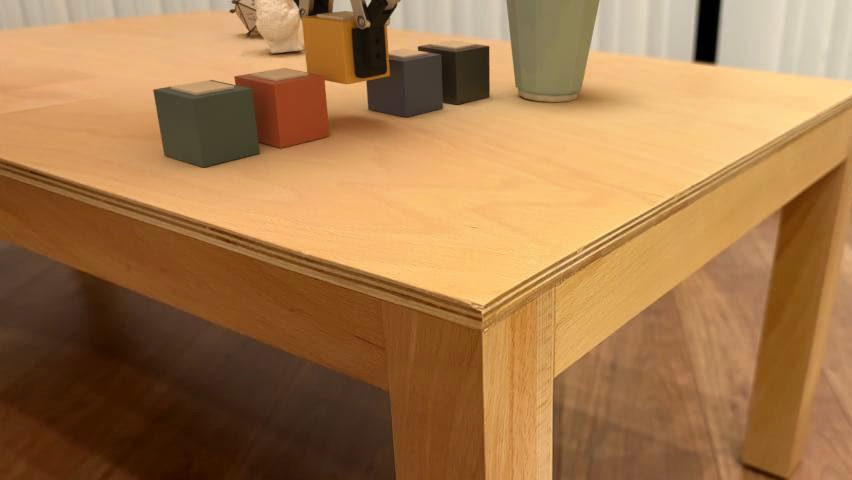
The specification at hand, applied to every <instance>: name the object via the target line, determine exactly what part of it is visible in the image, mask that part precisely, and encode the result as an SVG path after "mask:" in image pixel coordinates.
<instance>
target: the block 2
mask: <svg viewBox="0 0 852 480" xmlns="http://www.w3.org/2000/svg"><path fill="white" fill-rule="evenodd" d="M233 77H234V85H238V86H242V87H247V88H251V89H252V94H253V102H254V110H255V118H256V127H257V135H258V143H260V144H265V145H268V146H272V147H276V148H280V149H283V148H288V147H292V146H296V145H300V144H304V143H308V142H312V141H316V140H321V139H324V138H328V137H330V127H329V126H330V125H329V114H328V113H329V112H328V102H327V91H326V81H325V78H324V75H318V74H313V73H308V72H307V71H303V70H297V69H291V68H286V67H281V68H276V69H269V70H263V71H256V72H250V73H246V74H240V75H234V76H233Z"/></svg>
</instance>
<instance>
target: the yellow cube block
mask: <svg viewBox="0 0 852 480" xmlns="http://www.w3.org/2000/svg"><path fill="white" fill-rule="evenodd" d="M301 24H302V35H303V44H304V46H305V48H304V54H305V64H306V72H308V73H313V74H318V75H324V78H325V82H331V83H336V84H342V85H352V84H356V83H363V82H366V81H368V80H373V79H378V78H383V77H388V76H390V69H389V53H388V51H389V40H388V39H389V37H388V26H384V27H385V43H386V59H387V72H386V74H384V75H379V76H374V77H369V78H363V79H362V78H357V77H356V75H355V68H354V55H353V43H352V29H353V28H358V26H357V24H356V21H355V17H354V13H353V11H348V10H341V11H334V12H333V11H332V13H323V14H317V15H314V16H305V17H302V20H301Z"/></svg>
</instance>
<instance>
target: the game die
mask: <svg viewBox="0 0 852 480" xmlns="http://www.w3.org/2000/svg"><path fill="white" fill-rule="evenodd" d="M230 2H231V3H232V4H233V5H235V6H234V9H233V8H232V9H230V10H229V11H228V13H231V14H236V15H237V17H238V18H239V20H240V21H241V22H242V24H243V25H244V27H245V28H246V30H247V31H248V32H247V33H246V39H247V38H250V37H251V35H252V34H253V33H259V31H258V30H257V26H256V20H257V15H256V7H255V2H254V0H231V1H230Z"/></svg>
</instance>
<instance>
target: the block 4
mask: <svg viewBox="0 0 852 480" xmlns="http://www.w3.org/2000/svg"><path fill="white" fill-rule="evenodd" d="M417 51H422V52H428V53H434V54H441V55H442V90H443V103H446V104H451V105H457V106H458V105H461V104H466V103H469V102H474V101H478V100H481V99H486V98H490V96H491V95H490V94H491V93H490V92H491V91H490V89H491V87H490V86H491V83H490V72H491V71H490V45H484V44H477V43H472V42H465V41H458V40H447V41H441V42H435V43H429V44H424V45H418V46H417Z"/></svg>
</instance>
